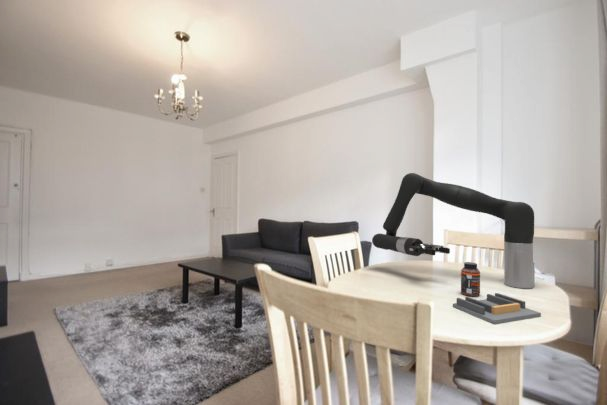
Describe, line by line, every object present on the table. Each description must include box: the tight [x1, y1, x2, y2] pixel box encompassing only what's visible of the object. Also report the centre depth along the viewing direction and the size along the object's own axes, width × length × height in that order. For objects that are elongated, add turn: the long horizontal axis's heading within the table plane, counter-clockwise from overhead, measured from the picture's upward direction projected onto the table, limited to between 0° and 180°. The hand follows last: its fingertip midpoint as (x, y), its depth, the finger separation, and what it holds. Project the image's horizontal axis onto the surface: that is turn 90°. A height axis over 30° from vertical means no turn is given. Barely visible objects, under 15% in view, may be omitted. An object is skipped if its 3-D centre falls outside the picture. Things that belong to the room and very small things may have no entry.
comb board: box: [452, 292, 542, 325], centre depth 88 cm, size 18×14×3 cm
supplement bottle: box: [460, 261, 481, 298], centre depth 104 cm, size 6×6×11 cm
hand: (442, 251), depth 114 cm, fingers open, 8 cm apart
